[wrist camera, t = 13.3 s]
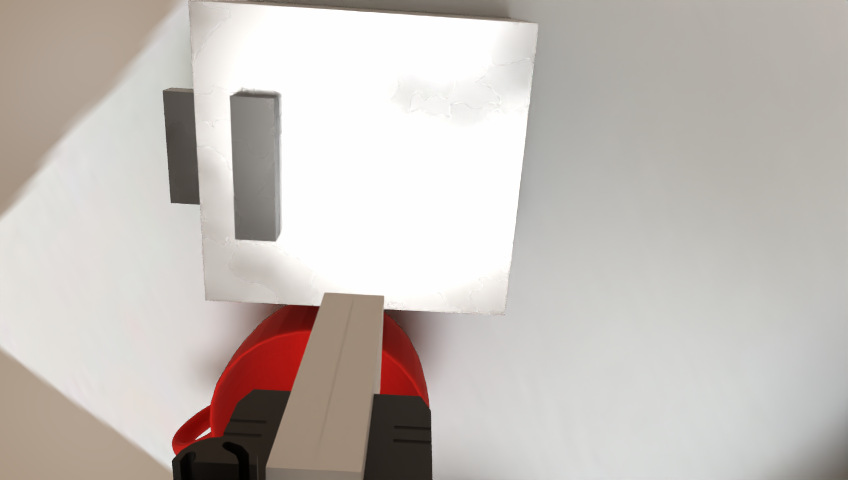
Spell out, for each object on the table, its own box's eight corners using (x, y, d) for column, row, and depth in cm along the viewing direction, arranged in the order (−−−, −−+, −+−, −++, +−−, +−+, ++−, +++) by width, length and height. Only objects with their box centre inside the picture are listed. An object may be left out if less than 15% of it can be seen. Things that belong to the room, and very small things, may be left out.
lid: (534, 22, 31) (543, 24, 29) (501, 305, 36) (507, 325, 34) (196, 0, 31) (179, 0, 28) (211, 291, 36) (198, 310, 34)
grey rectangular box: (509, 18, 40) (533, 22, 32) (486, 246, 45) (501, 303, 37) (206, -3, 39) (148, -4, 31) (218, 231, 45) (170, 285, 36)
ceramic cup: (170, 309, 47) (107, 387, 37) (393, 237, 45) (386, 300, 35) (244, 451, 51) (205, 553, 42) (451, 391, 49) (458, 483, 40)
